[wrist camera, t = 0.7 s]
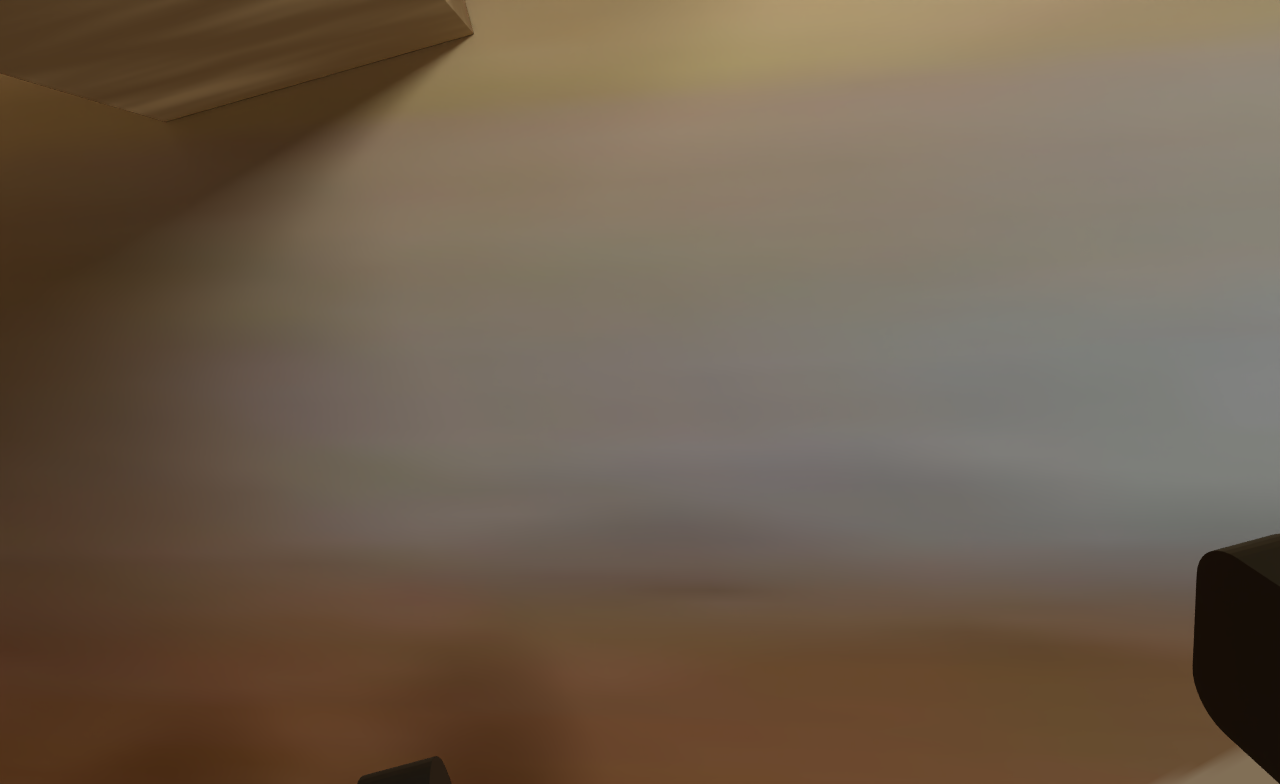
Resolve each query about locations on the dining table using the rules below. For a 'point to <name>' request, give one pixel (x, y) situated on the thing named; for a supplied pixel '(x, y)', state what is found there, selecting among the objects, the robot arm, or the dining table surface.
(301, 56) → the short tower
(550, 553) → the dining table surface
